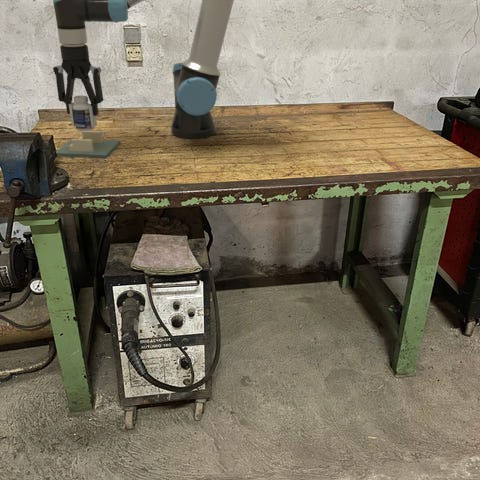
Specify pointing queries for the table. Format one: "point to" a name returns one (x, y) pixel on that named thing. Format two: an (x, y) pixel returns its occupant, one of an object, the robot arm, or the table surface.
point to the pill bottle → (82, 113)
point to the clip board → (89, 146)
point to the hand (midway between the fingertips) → (84, 125)
